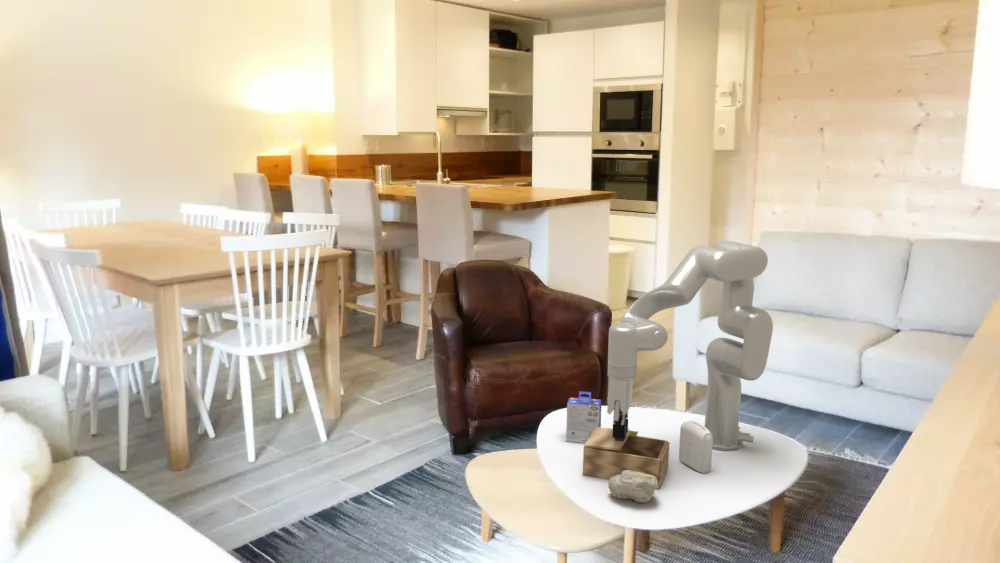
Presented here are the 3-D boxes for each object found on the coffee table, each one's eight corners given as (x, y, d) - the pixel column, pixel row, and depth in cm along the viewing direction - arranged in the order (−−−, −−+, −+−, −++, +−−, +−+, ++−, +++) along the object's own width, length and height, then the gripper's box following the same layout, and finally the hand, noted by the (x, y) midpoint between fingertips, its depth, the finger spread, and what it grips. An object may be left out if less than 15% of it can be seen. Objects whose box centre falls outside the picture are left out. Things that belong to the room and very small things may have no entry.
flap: (584, 446, 200) (583, 419, 198) (596, 429, 211) (595, 403, 210) (620, 450, 196) (619, 423, 195) (630, 432, 208) (629, 406, 206)
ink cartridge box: (600, 437, 226) (602, 391, 223) (599, 445, 220) (601, 398, 217) (567, 434, 228) (569, 389, 225) (565, 441, 222) (567, 395, 219)
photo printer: (676, 459, 211) (678, 418, 209) (688, 457, 213) (691, 415, 210) (700, 475, 202) (703, 432, 200) (713, 472, 204) (716, 429, 201)
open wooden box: (668, 468, 206) (669, 441, 204) (659, 489, 194) (661, 460, 192) (594, 455, 213) (595, 429, 212) (582, 475, 201) (583, 447, 200)
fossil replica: (606, 489, 194) (613, 512, 185) (605, 461, 192) (612, 482, 182) (652, 485, 194) (661, 508, 185) (652, 457, 192) (661, 478, 182)
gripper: (614, 359, 207) (612, 421, 211) (601, 378, 192) (599, 445, 196) (642, 362, 204) (639, 425, 208) (630, 382, 189) (628, 449, 193)
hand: (620, 434), depth 202 cm, fingers closed on flap, 3 cm apart
